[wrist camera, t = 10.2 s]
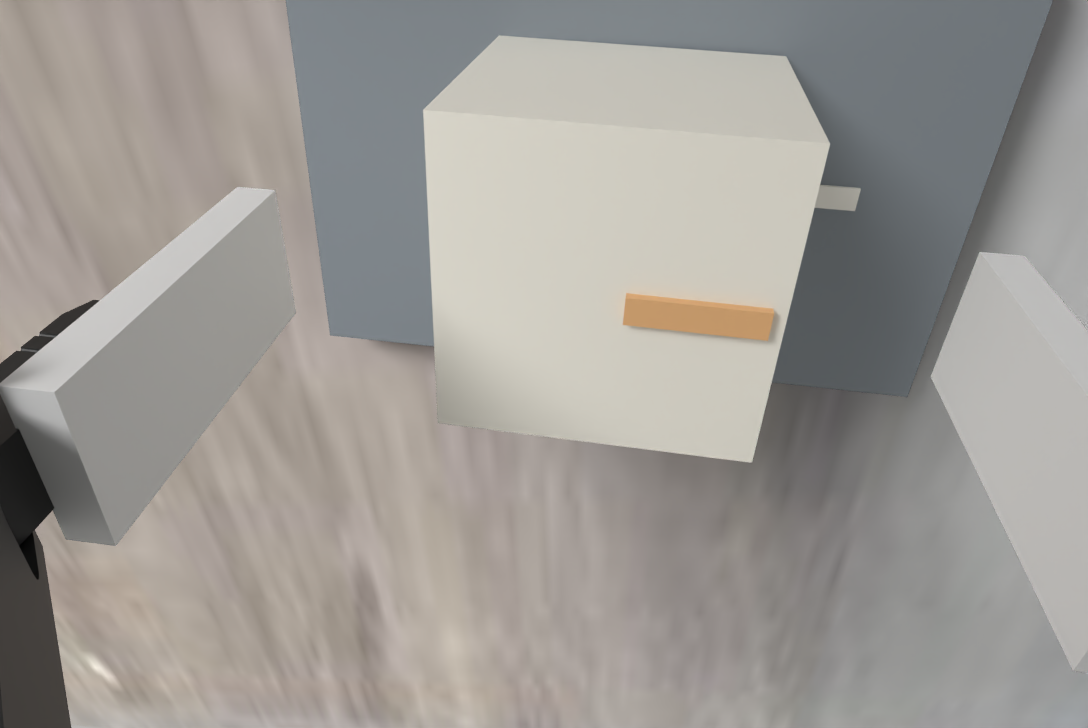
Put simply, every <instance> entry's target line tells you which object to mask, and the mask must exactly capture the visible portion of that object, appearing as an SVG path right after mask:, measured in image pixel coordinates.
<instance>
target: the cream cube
mask: <svg viewBox="0 0 1088 728" xmlns="http://www.w3.org/2000/svg"><path fill="white" fill-rule="evenodd" d="M423 118H424V140H425V161H426V183H427V204H428V225H429V247H430V268H431V290H432V311H433V333H434V354H435V376H436V397H437V419H438V423H440V424H448V425H456V426H464V427H472V428H479V429H487V430H495V431H503V432H511V433H519V434H527V435H535V436H543V437H551V438H559V439H567V440H575V441H583V442H591V443H599V444H607V445H615V446H623V447H630V448H638V449H646V450H654V451H662V452H670V453H678V454H686V455H694V456H702V457H710V458H718V459H726V460H734V461H742V462H750V463H752V461H753V456H754V452H755V448H756V444H757V440H758V436H759V432H760V428H761V424H762V420H763V416H764V412H765V408H766V403H767V399H768V395H769V391H770V387H771V383H772V379H773V375H774V371H775V367H776V363H777V359H778V355H779V350H780V346H781V342H782V338H783V334H784V330H785V326H786V322H787V318H788V314H789V310H790V306H791V302H792V297H793V293H794V289H795V285H796V281H797V277H798V273H799V269H800V265H801V261H802V257H803V253H804V249H805V244H806V240H807V236H808V232H809V228H810V224H811V220H812V216H813V212H814V208H815V204H816V200H817V195H818V191H819V187H820V183H821V179H822V175H823V171H824V167H825V163H826V159H827V155H828V151H829V147H830V142H829V140H828V138H827V136H826V134H825V132H824V130H823V128H822V126H821V124H820V122H819V120H818V118H817V116H816V114H815V112H814V111H813V109H812V107H811V105H810V103H809V101H808V99H807V97H806V95H805V93H804V91H803V89H802V87H801V85H800V83H799V81H798V79H797V77H796V75H795V73H794V71H793V69H792V67H791V65H790V63H789V61H788V59H787V57H786V56H777V55H763V54H749V53H735V52H721V51H708V50H694V49H680V48H666V47H652V46H639V45H625V44H611V43H597V42H583V41H569V40H556V39H542V38H528V37H514V36H500V35H499V36H498V37H497V38H496V39H495V40H494V41H493V42H492V43H491V44H490V45H489V46H488V47H487V48H486V49H485V50H484V51H483V52H482V53H481V54H480V55H479V56H478V57H477V58H475V59H474V60H473V61H472V62H471V63H470V64H469V65H468V66H467V67H466V68H465V69H464V70H463V71H462V72H461V73H460V74H459V75H458V76H457V77H456V78H455V79H454V80H453V81H452V82H451V83H450V84H449V85H448V86H447V87H446V88H445V89H444V90H443V91H442V92H441V93H440V94H439V95H438V96H437V97H436V98H435V99H434V100H433V101H432V102H431V103H430V104H429V105H427V106H426V107H425V108H424V109H423Z"/></svg>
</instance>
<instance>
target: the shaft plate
mask: <svg viewBox="0 0 1088 728" xmlns="http://www.w3.org/2000/svg"><path fill="white" fill-rule="evenodd" d="M1052 2H1053V0H286V7H287V14H288V22H289V29H290V37H291V44H292V52H293V59H294V67H295V74H296V82H297V89H298V97H299V104H300V112H301V119H302V127H303V134H304V142H305V149H306V157H307V164H308V172H309V179H310V187H311V194H312V202H313V210H314V217H315V225H316V232H317V240H318V247H319V255H320V262H321V270H322V277H323V285H324V292H325V300H326V307H327V315H328V322H329V330H330V335H332V336H341V337H351V338H360V339H369V340H379V341H388V342H397V343H407V344H416V345H426V346H434V333H433V311H432V290H431V268H430V247H429V225H428V204H427V183H426V161H425V140H424V118H423V109H424V108H425V107H426V106H427V105H429V104H430V103H431V102H432V101H433V100H434V99H435V98H436V97H437V96H438V95H439V94H440V93H441V92H442V91H443V90H444V89H445V88H446V87H447V86H448V85H449V84H450V83H451V82H452V81H453V80H454V79H455V78H456V77H457V76H458V75H459V74H460V73H461V72H462V71H463V70H464V69H465V68H466V67H467V66H468V65H469V64H470V63H471V62H472V61H473V60H474V59H475V58H477V57H478V56H479V55H480V54H481V53H482V52H483V51H484V50H485V49H486V48H487V47H488V46H489V45H490V44H491V43H492V42H493V41H494V40H495V39H496V38H497V37H498V36H499V35H500V36H514V37H528V38H542V39H556V40H569V41H583V42H597V43H611V44H625V45H639V46H652V47H666V48H680V49H694V50H708V51H721V52H735V53H749V54H763V55H777V56H786V57H787V59H788V61H789V63H790V65H791V67H792V69H793V71H794V73H795V75H796V77H797V79H798V81H799V83H800V85H801V87H802V89H803V91H804V93H805V95H806V97H807V99H808V101H809V103H810V105H811V107H812V109H813V111H814V112H815V114H816V116H817V118H818V120H819V122H820V124H821V126H822V128H823V130H824V132H825V134H826V136H827V138H828V140H829V142H830V147H829V151H828V155H827V159H826V163H825V167H824V171H823V175H822V179H821V183H820V187H819V191H818V195H817V200H816V204H815V208H814V212H813V216H812V220H811V224H810V228H809V232H808V236H807V240H806V244H805V249H804V253H803V257H802V261H801V265H800V269H799V273H798V277H797V281H796V285H795V289H794V293H793V297H792V302H791V306H790V310H789V314H788V318H787V322H786V326H785V330H784V334H783V338H782V342H781V346H780V350H779V355H778V359H777V363H776V367H775V371H774V375H773V379H772V383H782V384H791V385H801V386H810V387H819V388H829V389H838V390H847V391H857V392H866V393H876V394H885V395H894V396H904V397H907V396H908V394H909V391H910V388H911V385H912V383H913V380H914V377H915V375H916V372H917V369H918V366H919V364H920V361H921V358H922V356H923V353H924V350H925V347H926V345H927V342H928V339H929V336H930V334H931V331H932V328H933V326H934V323H935V320H936V317H937V315H938V312H939V309H940V307H941V304H942V301H943V298H944V296H945V293H946V290H947V287H948V285H949V282H950V279H951V277H952V274H953V271H954V268H955V266H956V263H957V260H958V258H959V255H960V252H961V249H962V247H963V244H964V241H965V239H966V236H967V233H968V230H969V228H970V225H971V222H972V219H973V217H974V214H975V211H976V209H977V206H978V203H979V200H980V198H981V195H982V192H983V190H984V187H985V184H986V181H987V179H988V176H989V173H990V171H991V168H992V165H993V162H994V160H995V157H996V154H997V151H998V149H999V146H1000V143H1001V141H1002V138H1003V135H1004V132H1005V130H1006V127H1007V124H1008V122H1009V119H1010V116H1011V113H1012V111H1013V108H1014V105H1015V102H1016V100H1017V97H1018V94H1019V92H1020V89H1021V86H1022V83H1023V81H1024V78H1025V75H1026V73H1027V70H1028V67H1029V64H1030V62H1031V59H1032V56H1033V54H1034V51H1035V48H1036V45H1037V43H1038V40H1039V37H1040V34H1041V32H1042V29H1043V26H1044V24H1045V21H1046V18H1047V15H1048V13H1049V10H1050V7H1051V5H1052Z"/></svg>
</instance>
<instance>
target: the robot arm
mask: <svg viewBox="0 0 1088 728" xmlns="http://www.w3.org/2000/svg"><path fill="white" fill-rule="evenodd" d="M295 313H296V310H295V304H294V298H293V292H292V286H291V280H290V274H289V268H288V262H287V257H286V251H285V245H284V239H283V233H282V227H281V221H280V215H279V209H278V203H277V197H276V191H275V190H267V189H256V188H244V187H237V188H236V189H234V190H233V191H232V192H231V193H229V194H228V195H227V196H226V197H225V198H223V199H222V200H221V201H220V202H219V203H217V204H216V205H215V206H214V207H213V208H211V209H210V210H209V211H208V212H206V213H205V214H204V215H203V216H202V217H200V218H199V219H198V220H197V221H196V222H194V223H193V224H192V225H191V226H190V227H188V228H187V229H186V230H185V231H183V232H182V233H181V234H180V235H179V236H177V237H176V238H175V239H174V240H173V241H171V242H170V243H169V244H168V245H167V246H165V247H164V248H163V249H162V250H160V251H159V252H158V253H157V254H156V255H154V256H153V257H152V258H151V259H150V260H148V261H147V262H146V263H145V264H144V265H142V266H141V267H140V268H139V269H137V270H136V271H135V272H134V273H133V274H131V275H130V276H129V277H128V278H127V279H125V280H124V281H123V282H122V283H121V284H119V285H118V286H117V287H116V288H114V289H113V290H112V291H111V292H110V293H108V294H107V295H106V296H105V297H104V298H102V299H101V300H100V301H99V300H92V301H90V302H88V303H86V304H84V305H81V306H79V307H77V308H75V309H73V310H71V311H68V312H66V313H64V314H62V315H61V316H60V317H58V318H57V319H56V320H55V321H53V322H52V323H51V324H49V325H48V326H47V327H46V328H44V329H43V330H42V331H41V332H40V335H39V336H34V337H33V338H32V339H31V340H29V341H28V342H27V343H26V344H24V345H23V346H22V347H21V351H16V352H14V353H13V354H12V355H11V356H9V357H8V358H7V359H6V360H4V361H3V362H2V363H1V364H0V728H71V723H70V717H69V710H68V704H67V698H66V691H65V685H64V679H63V672H62V666H61V660H60V653H59V647H58V641H57V634H56V628H55V622H54V615H53V609H52V603H51V596H50V590H49V583H48V577H47V571H46V564H45V558H44V552H43V546H42V544H41V542H40V540H39V538H38V536H37V534H36V532H35V529H36V528H37V527H38V526H39V524H40V523H41V522H42V521H43V520H44V519H45V518H46V517H47V516H48V514H49V513H50V512H51V511H52V510H53V512H54V514H55V516H56V519H57V521H58V523H59V525H60V527H61V530H62V532H63V534H64V536H65V539H66V540H74V541H82V542H89V543H97V544H105V545H112V546H116V545H117V544H118V542H119V541H120V540H121V539H122V537H123V536H124V535H125V533H126V532H127V531H128V530H129V528H130V527H131V526H132V524H133V523H134V522H135V520H136V519H137V518H138V517H139V515H140V514H141V513H142V511H143V510H144V509H145V508H146V506H147V505H148V504H149V502H150V501H151V500H152V498H153V497H154V496H155V495H156V493H157V492H158V491H159V489H160V488H161V487H162V485H163V484H164V483H165V482H166V480H167V479H168V478H169V476H170V475H171V474H172V473H173V471H174V470H175V469H176V467H177V466H178V465H179V463H180V462H181V461H182V460H183V458H184V457H185V456H186V454H187V453H188V452H189V451H190V449H191V448H192V447H193V445H194V444H195V443H196V441H197V440H198V439H199V438H200V436H201V435H202V434H203V432H204V431H205V430H206V428H207V427H208V426H209V425H210V423H211V422H212V421H213V419H214V418H215V417H216V416H217V414H218V413H219V412H220V410H221V409H222V408H223V406H224V405H225V404H226V403H227V401H228V400H229V399H230V397H231V396H232V395H233V394H234V392H235V391H236V390H237V388H238V387H239V386H240V384H241V383H242V382H243V381H244V379H245V378H246V377H247V375H248V374H249V373H250V372H251V370H252V369H253V368H254V366H255V365H256V364H257V362H258V361H259V360H260V359H261V357H262V356H263V355H264V353H265V352H266V351H267V349H268V348H269V347H270V346H271V344H272V343H273V342H274V340H275V339H276V338H277V337H278V335H279V334H280V333H281V331H282V330H283V329H284V327H285V326H286V325H287V324H288V322H289V321H290V320H291V318H292V317H293V316H294V315H295ZM931 379H932V381H933V383H934V385H935V387H936V389H937V391H938V393H939V395H940V397H941V399H942V402H943V404H944V406H945V408H946V410H947V412H948V414H949V416H950V418H951V420H952V422H953V424H954V426H955V428H956V430H957V432H958V435H959V437H960V439H961V441H962V443H963V445H964V447H965V449H966V451H967V453H968V455H969V457H970V459H971V461H972V463H973V466H974V468H975V470H976V472H977V474H978V476H979V478H980V480H981V482H982V484H983V486H984V488H985V490H986V492H987V494H988V497H989V499H990V501H991V503H992V505H993V507H994V509H995V511H996V513H997V515H998V517H999V519H1000V521H1001V523H1002V525H1003V527H1004V530H1005V532H1006V534H1007V536H1008V538H1009V540H1010V542H1011V544H1012V546H1013V548H1014V550H1015V552H1016V554H1017V556H1018V558H1019V561H1020V563H1021V565H1022V567H1023V569H1024V571H1025V573H1026V575H1027V577H1028V579H1029V581H1030V583H1031V585H1032V587H1033V589H1034V592H1035V594H1036V596H1037V598H1038V600H1039V602H1040V604H1041V606H1042V608H1043V610H1044V612H1045V614H1046V616H1047V618H1048V620H1049V622H1050V625H1051V627H1052V629H1053V631H1054V633H1055V635H1056V637H1057V639H1058V641H1059V643H1060V645H1061V647H1062V649H1063V651H1064V653H1065V656H1066V658H1067V660H1068V662H1069V664H1070V666H1071V668H1072V670H1073V671H1076V672H1084V673H1088V331H1087V329H1086V328H1085V327H1084V326H1083V325H1082V323H1081V322H1080V321H1079V320H1078V319H1077V317H1076V316H1075V315H1074V314H1073V313H1072V312H1071V310H1070V309H1069V308H1068V307H1067V306H1066V304H1065V303H1064V302H1063V301H1062V300H1061V299H1060V297H1059V296H1058V295H1057V294H1056V293H1055V291H1054V290H1053V289H1052V288H1051V287H1050V286H1049V284H1048V283H1047V282H1046V281H1045V280H1044V278H1043V277H1042V276H1041V275H1040V274H1039V272H1038V271H1037V270H1036V269H1035V268H1034V267H1033V265H1032V264H1031V263H1030V262H1029V261H1028V259H1027V258H1026V257H1025V256H1022V255H1011V254H999V253H988V252H979V255H978V257H977V260H976V262H975V265H974V268H973V270H972V273H971V275H970V278H969V280H968V283H967V285H966V288H965V290H964V293H963V296H962V298H961V301H960V303H959V306H958V308H957V311H956V313H955V316H954V318H953V321H952V324H951V326H950V329H949V331H948V334H947V336H946V339H945V341H944V344H943V347H942V349H941V352H940V354H939V357H938V359H937V362H936V364H935V367H934V369H933V372H932V375H931Z"/></svg>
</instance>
